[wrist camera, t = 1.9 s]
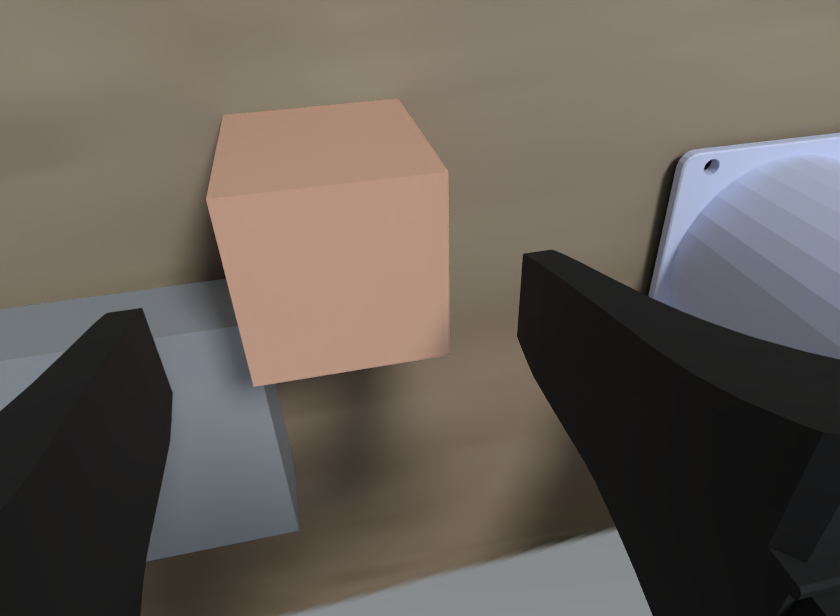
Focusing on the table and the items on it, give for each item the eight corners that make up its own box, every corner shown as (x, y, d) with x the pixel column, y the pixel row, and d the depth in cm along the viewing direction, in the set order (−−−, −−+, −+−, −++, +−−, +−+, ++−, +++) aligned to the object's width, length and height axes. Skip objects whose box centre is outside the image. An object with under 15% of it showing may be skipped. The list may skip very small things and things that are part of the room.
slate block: (250, 268, 18) (248, 324, 16) (295, 466, 24) (299, 530, 21) (-72, 312, 17) (-128, 380, 15) (50, 511, 22) (23, 586, 20)
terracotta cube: (397, 98, 16) (448, 171, 12) (405, 248, 19) (449, 355, 14) (222, 114, 16) (206, 199, 11) (256, 267, 18) (253, 386, 14)
